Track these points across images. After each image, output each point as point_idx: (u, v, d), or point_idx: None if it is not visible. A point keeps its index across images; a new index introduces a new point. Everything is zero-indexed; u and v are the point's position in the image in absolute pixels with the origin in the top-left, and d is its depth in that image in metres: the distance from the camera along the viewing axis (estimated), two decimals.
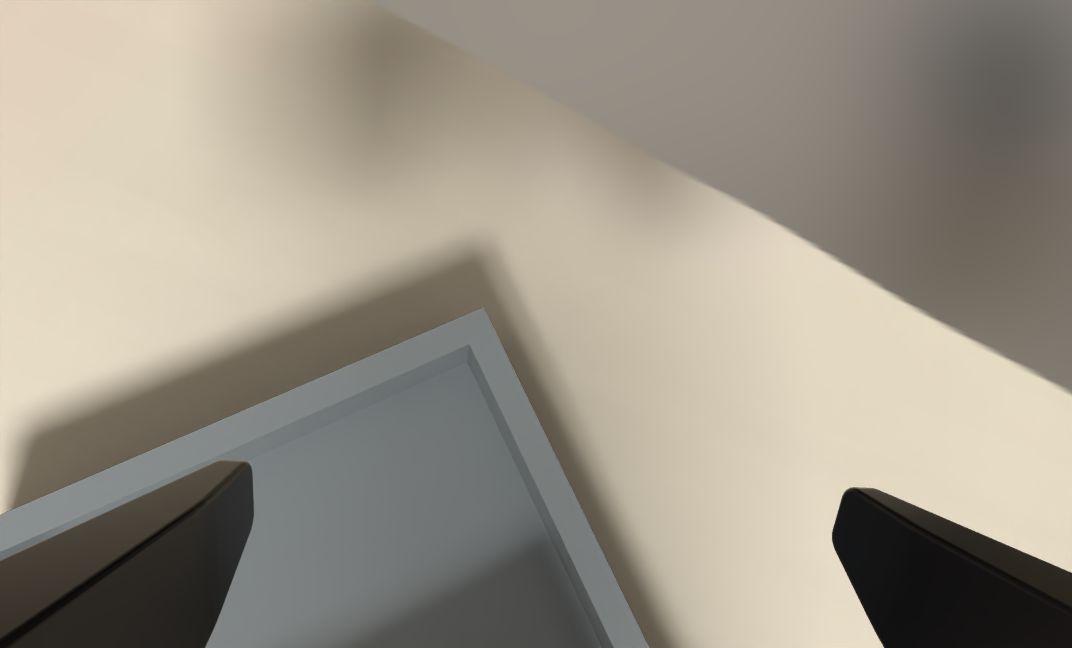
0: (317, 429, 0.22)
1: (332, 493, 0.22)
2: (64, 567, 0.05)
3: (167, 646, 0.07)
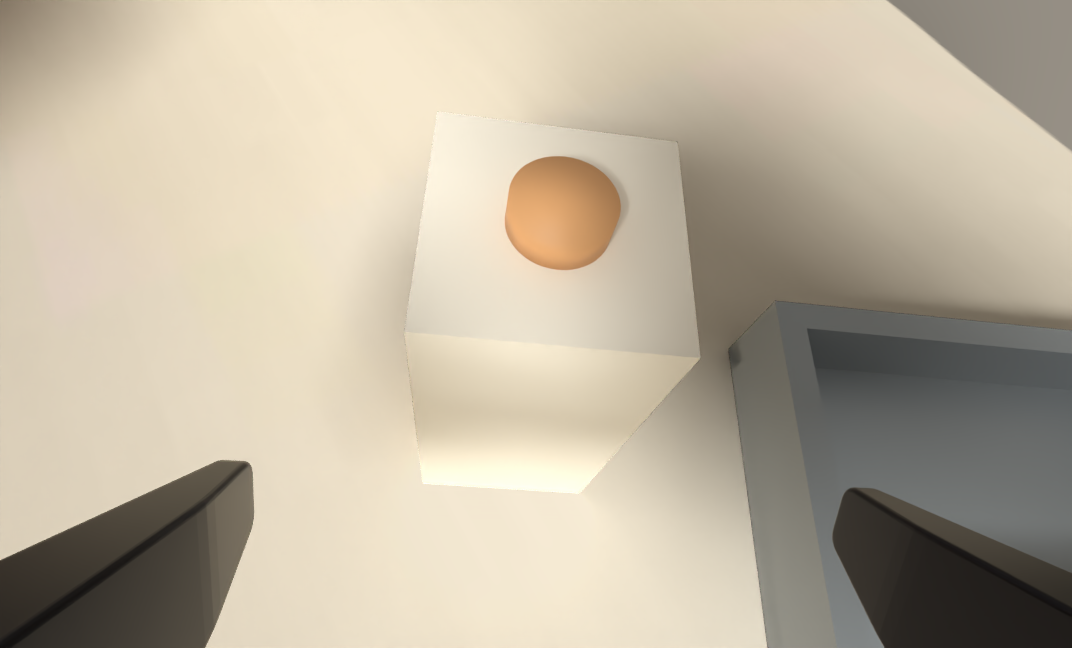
0: (1001, 383, 0.25)
1: (1011, 438, 0.24)
2: (64, 567, 0.05)
3: (167, 646, 0.07)
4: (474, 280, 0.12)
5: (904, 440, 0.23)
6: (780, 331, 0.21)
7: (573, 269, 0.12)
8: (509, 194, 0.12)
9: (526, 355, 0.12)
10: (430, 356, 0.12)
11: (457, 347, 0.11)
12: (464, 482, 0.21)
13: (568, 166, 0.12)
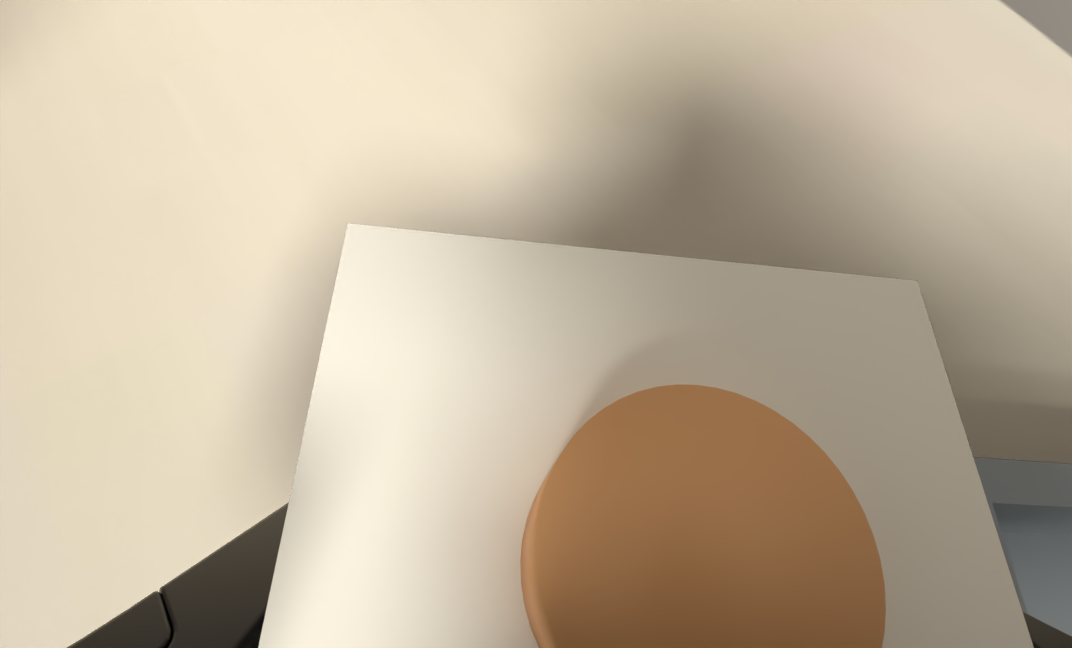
0: None
1: None
2: (258, 571, 0.06)
3: None
4: None
5: None
6: None
7: None
8: (539, 549, 0.04)
9: None
10: None
11: None
12: None
13: (707, 419, 0.04)
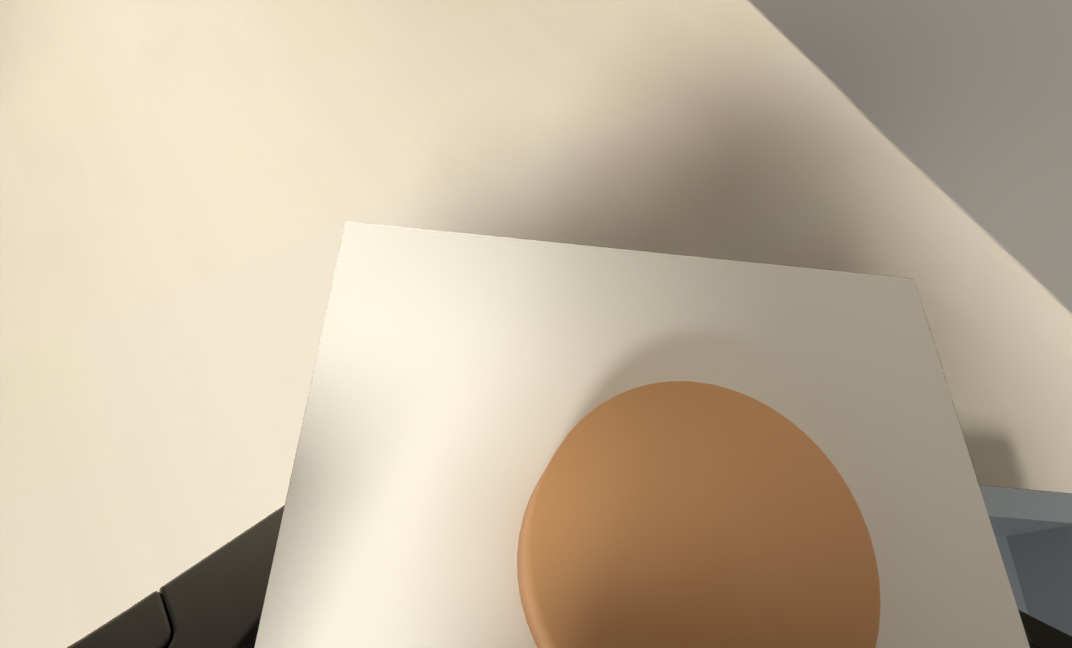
0: None
1: None
2: (258, 571, 0.06)
3: None
4: None
5: None
6: None
7: None
8: (535, 544, 0.04)
9: None
10: None
11: None
12: None
13: (701, 417, 0.04)
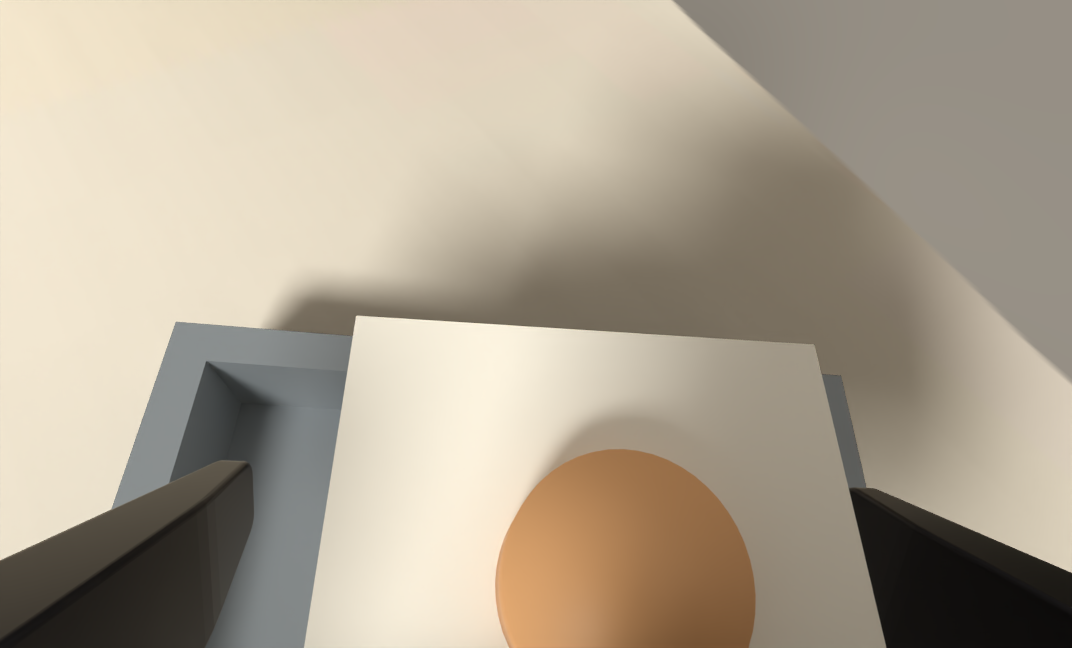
0: None
1: None
2: (65, 567, 0.05)
3: (168, 646, 0.07)
4: None
5: None
6: (161, 366, 0.15)
7: None
8: (505, 578, 0.05)
9: None
10: None
11: None
12: None
13: (630, 476, 0.06)
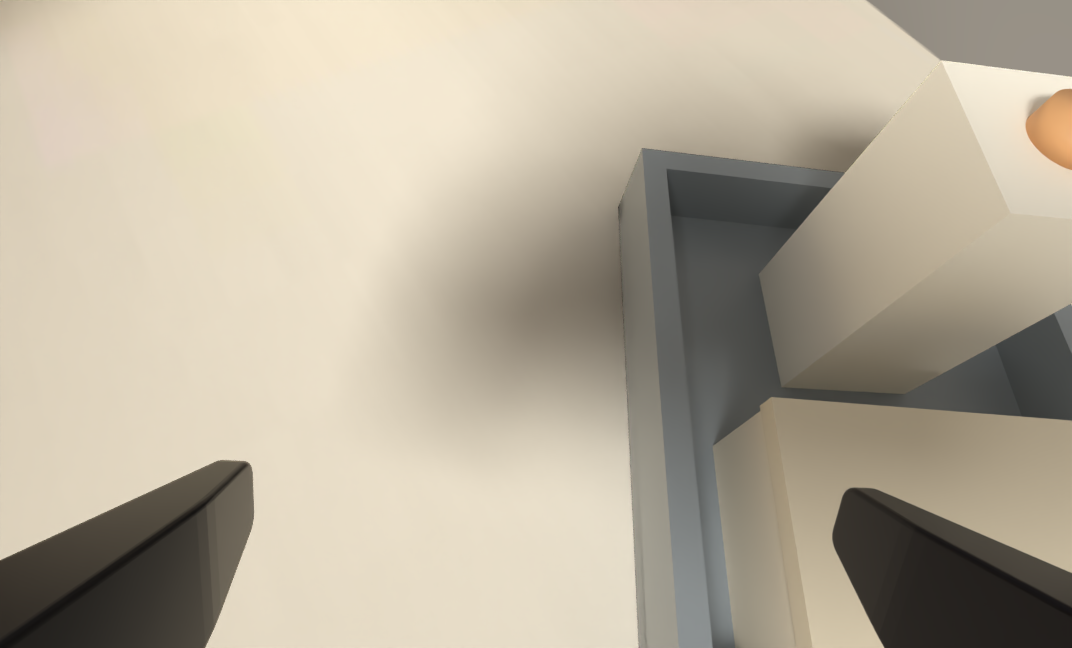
0: None
1: None
2: (64, 567, 0.05)
3: (167, 646, 0.07)
4: (1034, 179, 0.16)
5: (757, 272, 0.28)
6: (643, 170, 0.26)
7: None
8: (1055, 115, 0.16)
9: None
10: (995, 237, 0.16)
11: (1029, 227, 0.15)
12: (820, 384, 0.25)
13: None
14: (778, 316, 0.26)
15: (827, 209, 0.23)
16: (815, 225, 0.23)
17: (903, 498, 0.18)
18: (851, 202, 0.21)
